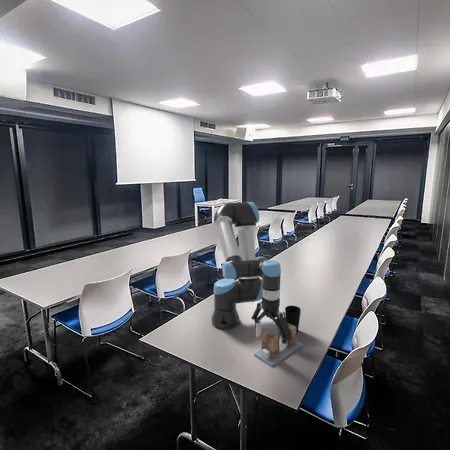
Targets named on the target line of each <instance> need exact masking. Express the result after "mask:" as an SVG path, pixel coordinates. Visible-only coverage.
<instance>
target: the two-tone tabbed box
mask: <svg viewBox="0 0 450 450" xmlns="http://www.w3.org/2000/svg"><path fill="white" fill-rule="evenodd" d="M264 348H267V349H269V350H270V351H271V359H275V358H276V357H278V356H279V335H277V334H275V333H273V332H272V331H269V330H267V331H264V332H263V333H261V349H262V350H263V349H264Z"/></svg>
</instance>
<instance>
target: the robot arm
mask: <svg viewBox="0 0 450 450" xmlns="http://www.w3.org/2000/svg"><path fill="white" fill-rule="evenodd" d="M259 212H260V211H259V208H258V206H257V205H256V203H254V202H253V201H242V202H241V201H240V202H239V201H238V202H226V203H223V204H222V205H220V206H219V207H218V208H217V210H215V214H214V216H213V224H214V228H215V229H216V230H217V233H218V237H219V240H220V241H219V242H220V245H221V250H222V253H223V256H224V257H223V258H224V262H223V263H222V264H221V265H222V266H221V267H222V275H223V278H221V279H218V280H217V281H216V282H214V285H213V301H214V303H213V304H214V308H213V309H214V310H213V313H212V315H211V325H212V327H213V326H214V327H215V328H216V329H217V328H218V329H220V330H221V329H222V330H228V329H233V328H236V327H237V326H238V325H240V315H239V312H238V311H237V304H242V303H243V304H244V303H255V302H257V304H256V308H255V310H254V311H253V314H252V315H251V319H252V320H253V321H254V328H255V337H256V338H258V337H259V336H262V319H263V318H265V317H266V318H269V319H270V320H272V322H273V323H274V324H275V325H276V327H277V329H278V332H279V331H280V333H281V336H280V351H282V350H283V349H285V343H286V342H287V338H288V337H289V336H291V332H290V329H289V326H288V323H287V320H286V314H285V311H282V312H281V311H280V307H281V303H280V302H281V299H280V298H281V276H282V275H281V273H282V269H281V268H282V267H281V264H280V262H279V261H276V260H273V259H272V260H270V259H267V258H266V257H264V256H257V257H256V245H255V228H256V227H257V224H258V223H259V221H260V213H259ZM233 225H234V228H235V229H236V230H237V234H238V235H237V237H238V241H237V238H236V235H235V232H234V228H233ZM236 279H238V280H236ZM261 310H263V311H262V312H261ZM260 312H261V313H260Z"/></svg>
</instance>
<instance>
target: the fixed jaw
mask: <svg viewBox="0 0 450 450" xmlns="http://www.w3.org/2000/svg"><path fill="white" fill-rule="evenodd" d="M288 326H289V329H290V332H291V336H289V337H288V338H287V340H289V341H288V347H289V348H292V347H293V346H295V345H296V341H297V333H296V326H293V325H291V324H289V323H288ZM278 332H279V333H278V336H279V339H280V336H281V333H280V331H279V330H278Z"/></svg>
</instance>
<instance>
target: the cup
mask: <svg viewBox="0 0 450 450" xmlns="http://www.w3.org/2000/svg"><path fill="white" fill-rule="evenodd" d="M301 311H302V310H301V308H300V307H299V306H297V305H287V306H285V308H284V312H285V316H286V320H287V323H289V324H291V325H293V326H296V334H298V333H299V326H300V321H301Z"/></svg>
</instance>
